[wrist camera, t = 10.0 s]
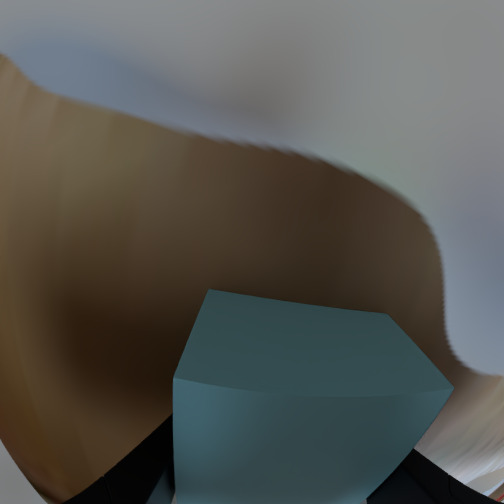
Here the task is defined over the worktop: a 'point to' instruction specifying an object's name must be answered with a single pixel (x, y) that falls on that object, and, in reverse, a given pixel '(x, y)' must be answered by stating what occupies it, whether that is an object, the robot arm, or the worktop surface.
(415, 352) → the teal block
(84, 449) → the worktop surface
